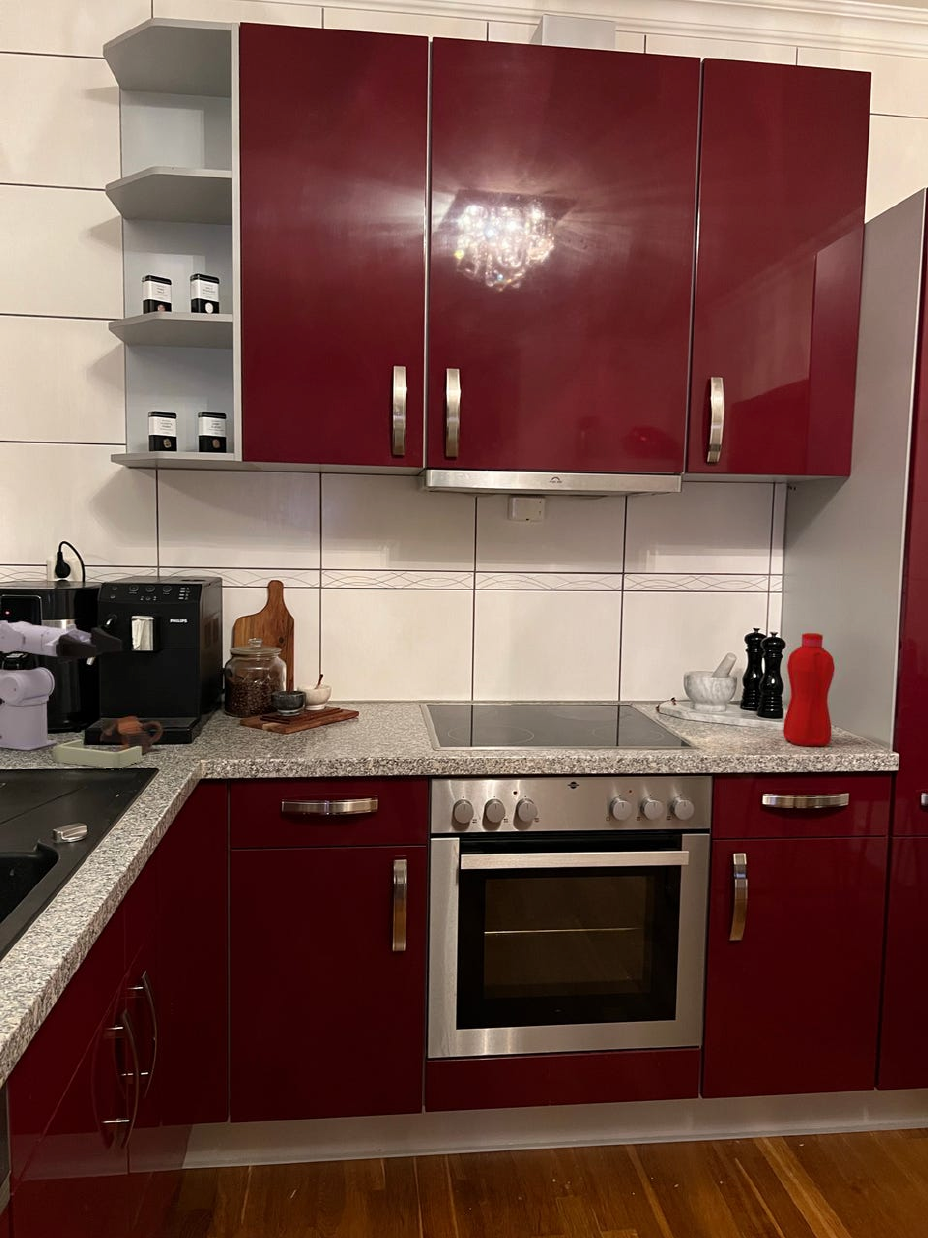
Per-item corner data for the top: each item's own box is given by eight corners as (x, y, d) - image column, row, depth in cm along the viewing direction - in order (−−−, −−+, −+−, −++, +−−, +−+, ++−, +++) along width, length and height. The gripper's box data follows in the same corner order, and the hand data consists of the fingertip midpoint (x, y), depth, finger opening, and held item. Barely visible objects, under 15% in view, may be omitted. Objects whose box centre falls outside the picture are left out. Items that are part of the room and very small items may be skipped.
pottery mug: (106, 762, 182) (94, 723, 184) (110, 772, 191) (98, 735, 193) (168, 742, 187) (156, 705, 189) (169, 753, 195) (157, 717, 197)
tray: (53, 761, 180) (53, 746, 179) (79, 754, 186) (79, 739, 186) (117, 770, 175) (117, 754, 174) (141, 761, 181) (141, 746, 181)
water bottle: (813, 737, 219) (819, 630, 216) (835, 747, 208) (842, 635, 205) (775, 736, 218) (780, 630, 216) (795, 747, 207) (801, 635, 205)
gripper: (24, 626, 181) (83, 634, 177) (76, 617, 195) (131, 623, 191) (25, 662, 182) (84, 670, 178) (76, 650, 196) (131, 657, 192)
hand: (108, 648), depth 185 cm, fingers open, 7 cm apart
